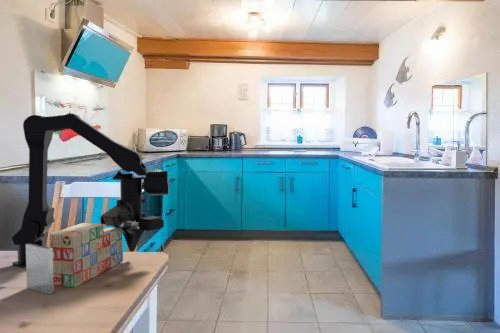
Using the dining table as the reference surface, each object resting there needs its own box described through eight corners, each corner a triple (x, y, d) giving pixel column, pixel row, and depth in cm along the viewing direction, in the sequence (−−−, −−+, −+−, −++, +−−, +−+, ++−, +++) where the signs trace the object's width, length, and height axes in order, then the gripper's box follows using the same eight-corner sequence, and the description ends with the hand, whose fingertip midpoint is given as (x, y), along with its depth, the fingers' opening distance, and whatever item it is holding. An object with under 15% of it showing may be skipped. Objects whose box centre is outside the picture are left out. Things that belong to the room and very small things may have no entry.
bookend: (26, 288, 96) (25, 244, 96) (31, 286, 97) (29, 243, 96) (49, 294, 92) (48, 248, 92) (53, 293, 93) (52, 247, 92)
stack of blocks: (103, 260, 118) (102, 216, 118) (123, 261, 117) (122, 217, 116) (50, 285, 98) (48, 232, 97) (74, 288, 96) (73, 234, 95)
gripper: (84, 196, 115) (85, 253, 116) (135, 201, 106) (136, 263, 107) (115, 192, 125) (116, 244, 126) (164, 196, 116) (165, 253, 117)
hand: (132, 251), depth 119 cm, fingers closed
